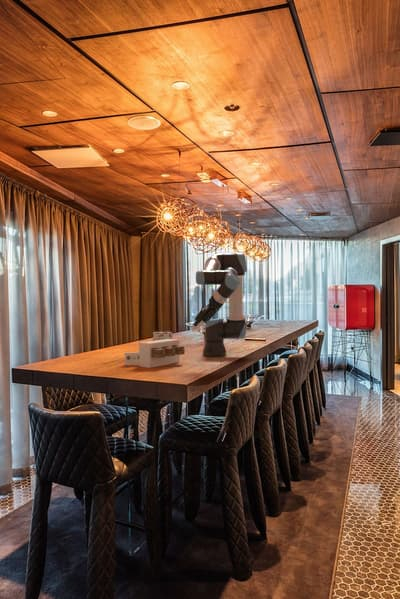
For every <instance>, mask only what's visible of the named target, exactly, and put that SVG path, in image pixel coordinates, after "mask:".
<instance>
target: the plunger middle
mask: <svg viewBox="0 0 400 599" xmlns="http://www.w3.org/2000/svg"><path fill="white" fill-rule="evenodd" d="M162 349H165V356H169V357H170V356H175V348H173V347H162Z"/></svg>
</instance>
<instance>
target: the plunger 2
mask: <svg viewBox="0 0 400 599" xmlns="http://www.w3.org/2000/svg"><path fill="white" fill-rule="evenodd" d="M172 347H173V348H175V354H176V355H179V356H180V355H181V356H182V355H185V352H186V350H185V345H179V346H176V345H173V346H172Z"/></svg>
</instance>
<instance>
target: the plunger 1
mask: <svg viewBox="0 0 400 599" xmlns="http://www.w3.org/2000/svg"><path fill="white" fill-rule="evenodd" d="M151 357H153V358H164V357H165V349H158V348H152V349H151Z"/></svg>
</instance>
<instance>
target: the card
mask: <svg viewBox="0 0 400 599" xmlns="http://www.w3.org/2000/svg"><path fill="white" fill-rule="evenodd" d="M124 366H139V351H137V352H136V351H134V352H131V351H130V352H124Z"/></svg>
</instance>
